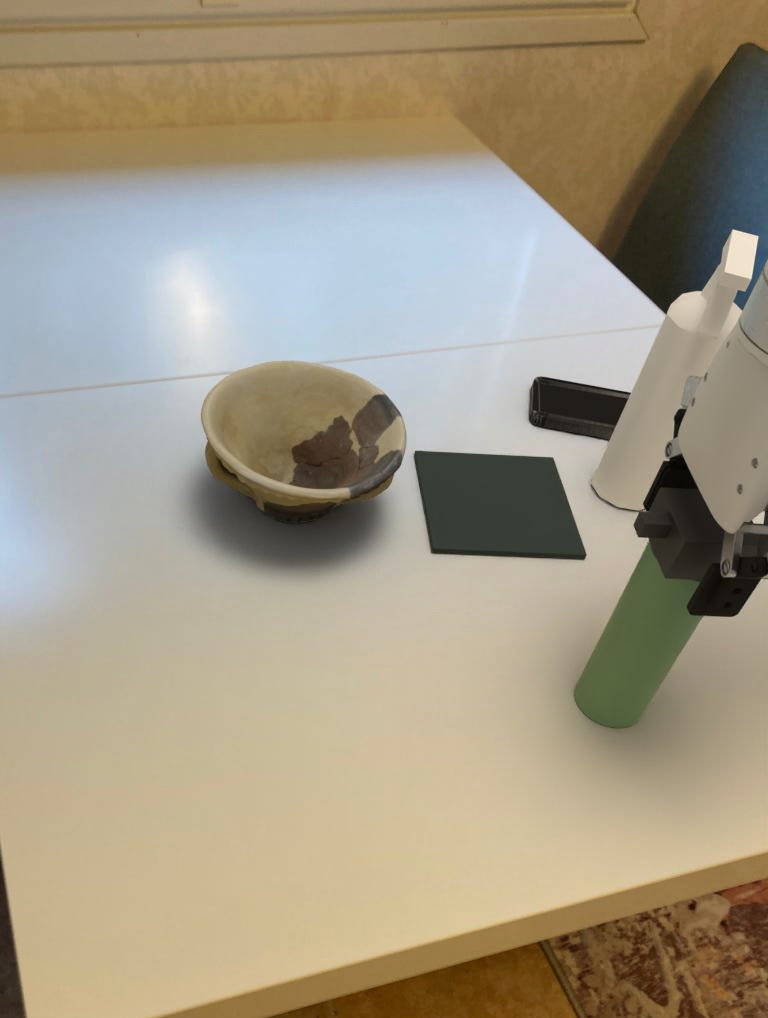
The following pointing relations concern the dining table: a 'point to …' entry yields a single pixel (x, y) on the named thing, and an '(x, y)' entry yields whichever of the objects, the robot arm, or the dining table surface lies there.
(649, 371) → the white cylindrical bottle
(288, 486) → the bowl
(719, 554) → the mister
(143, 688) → the dining table surface
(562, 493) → the mat
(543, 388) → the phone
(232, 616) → the dining table surface
